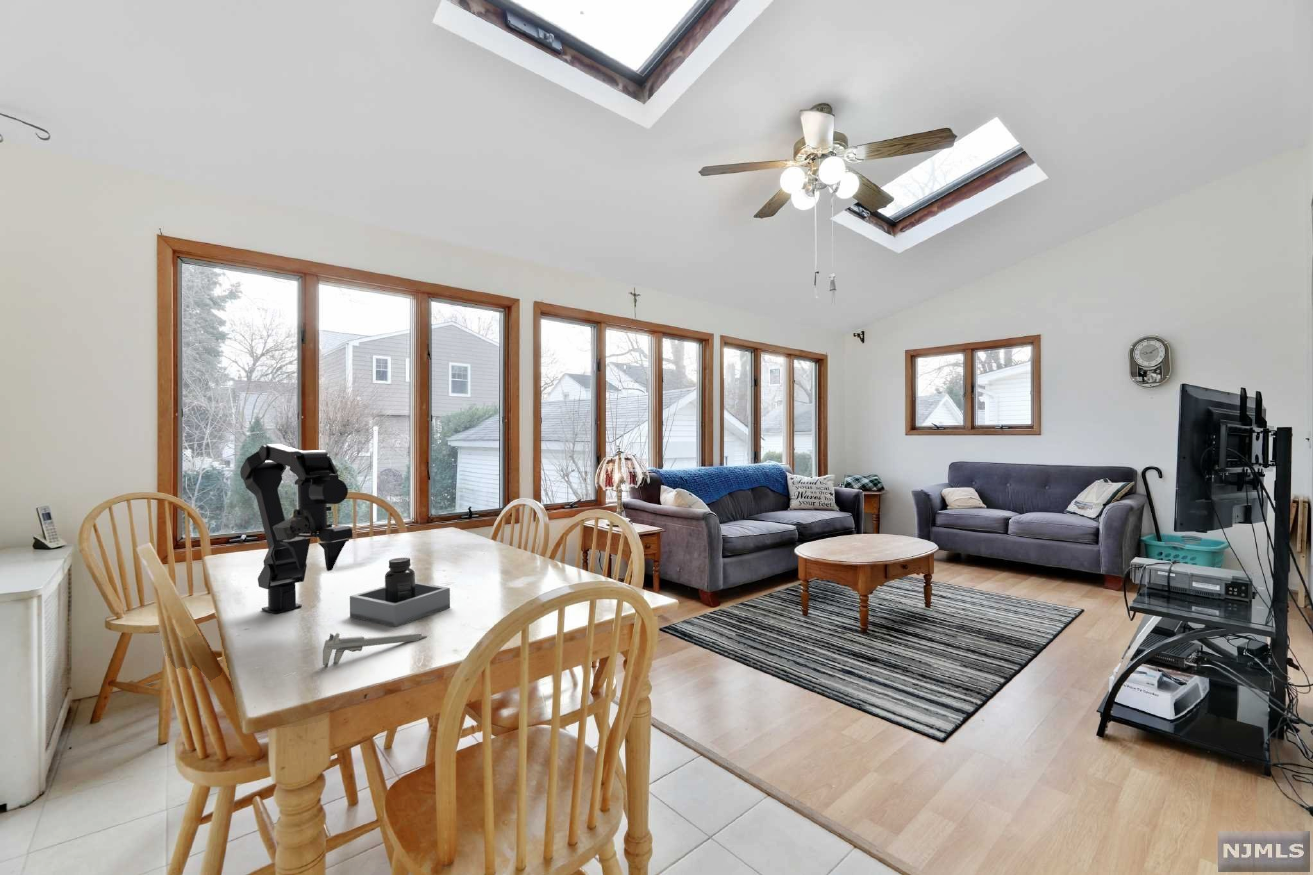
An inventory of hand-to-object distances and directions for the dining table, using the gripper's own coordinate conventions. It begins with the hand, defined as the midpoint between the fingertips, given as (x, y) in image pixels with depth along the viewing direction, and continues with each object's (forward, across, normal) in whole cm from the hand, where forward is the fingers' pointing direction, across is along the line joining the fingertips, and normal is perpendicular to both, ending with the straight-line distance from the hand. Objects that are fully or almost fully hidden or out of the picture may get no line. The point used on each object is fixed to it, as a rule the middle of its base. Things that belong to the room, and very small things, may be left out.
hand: (315, 569), depth 134 cm
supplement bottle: (+12, +13, +12) cm, 21 cm away
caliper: (+14, +28, -8) cm, 32 cm away
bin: (+13, +13, +12) cm, 22 cm away
